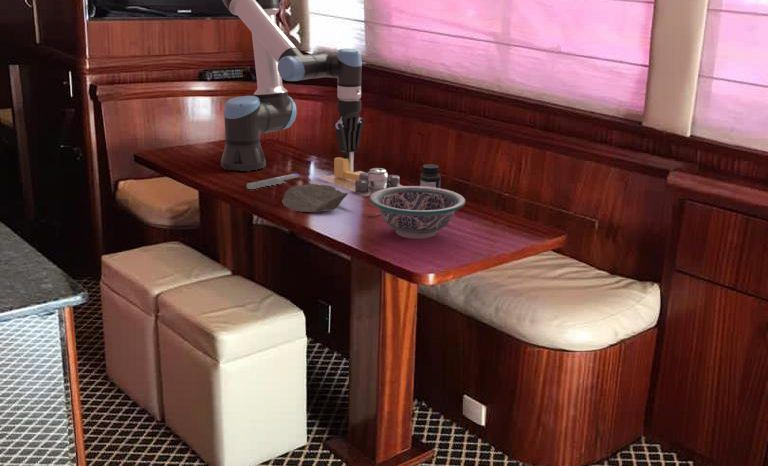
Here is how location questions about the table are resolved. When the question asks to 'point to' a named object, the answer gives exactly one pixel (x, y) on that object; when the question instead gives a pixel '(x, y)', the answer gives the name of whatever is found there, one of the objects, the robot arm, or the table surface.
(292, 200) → the stone
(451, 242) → the table surface
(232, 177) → the table surface
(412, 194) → the bowl
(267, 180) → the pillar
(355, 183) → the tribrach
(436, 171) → the pill bottle
